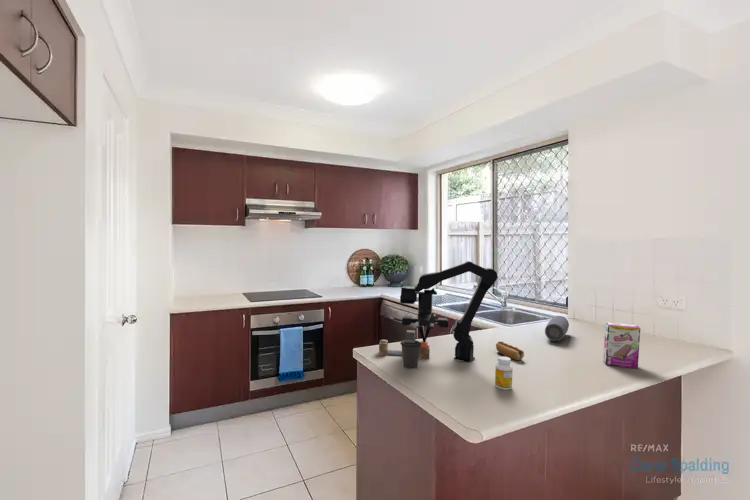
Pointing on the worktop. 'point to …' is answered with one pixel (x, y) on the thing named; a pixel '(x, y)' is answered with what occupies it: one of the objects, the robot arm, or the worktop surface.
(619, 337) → the candy bar box
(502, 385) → the supplement bottle
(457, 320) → the robot arm
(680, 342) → the worktop surface
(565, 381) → the worktop surface
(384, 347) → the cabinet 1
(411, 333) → the plate
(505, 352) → the food
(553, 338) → the bluetooth speaker
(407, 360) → the coffee cup
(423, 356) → the cabinet
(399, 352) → the handrail
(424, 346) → the gauge button
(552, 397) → the worktop surface
